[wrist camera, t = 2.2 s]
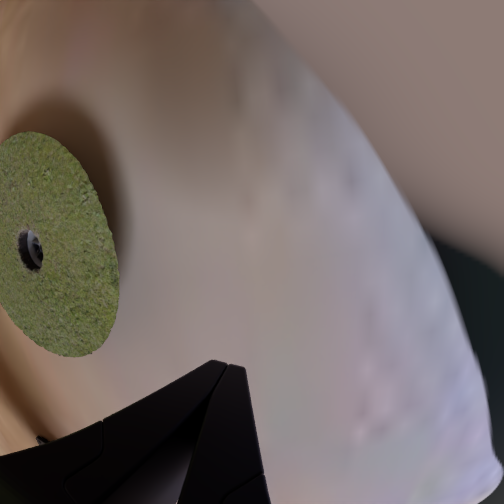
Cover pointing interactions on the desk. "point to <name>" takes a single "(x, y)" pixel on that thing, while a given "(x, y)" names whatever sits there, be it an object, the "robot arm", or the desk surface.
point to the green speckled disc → (54, 248)
